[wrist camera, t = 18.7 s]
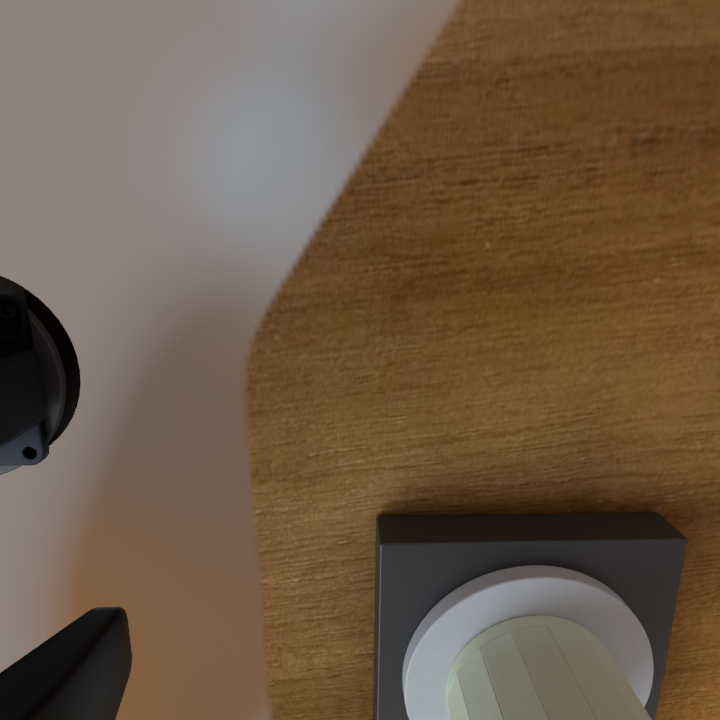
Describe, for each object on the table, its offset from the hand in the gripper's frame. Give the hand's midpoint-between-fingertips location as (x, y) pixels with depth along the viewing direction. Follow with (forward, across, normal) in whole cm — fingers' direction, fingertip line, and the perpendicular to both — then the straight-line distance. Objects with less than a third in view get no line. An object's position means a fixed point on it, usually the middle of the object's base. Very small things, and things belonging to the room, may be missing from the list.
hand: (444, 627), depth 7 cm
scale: (+13, -6, +12) cm, 19 cm away
